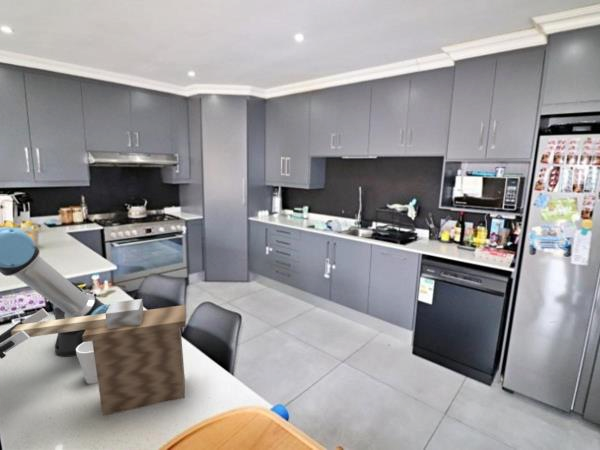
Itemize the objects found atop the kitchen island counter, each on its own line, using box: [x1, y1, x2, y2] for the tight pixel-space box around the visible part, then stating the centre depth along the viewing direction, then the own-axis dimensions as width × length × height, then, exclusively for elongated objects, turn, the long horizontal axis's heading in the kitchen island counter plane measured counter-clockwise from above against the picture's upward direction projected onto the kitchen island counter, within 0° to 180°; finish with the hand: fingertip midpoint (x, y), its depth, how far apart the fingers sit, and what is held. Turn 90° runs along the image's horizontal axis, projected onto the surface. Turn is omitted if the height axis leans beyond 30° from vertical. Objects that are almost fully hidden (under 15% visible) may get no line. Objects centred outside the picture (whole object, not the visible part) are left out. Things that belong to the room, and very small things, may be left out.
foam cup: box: [76, 341, 98, 385], centre depth 117 cm, size 10×9×13 cm
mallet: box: [11, 298, 144, 338], centre depth 98 cm, size 33×8×5 cm, turn 109°
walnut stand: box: [82, 304, 187, 416], centre depth 107 cm, size 28×12×28 cm, turn 109°
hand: (36, 322), depth 95 cm, fingers open, 13 cm apart
